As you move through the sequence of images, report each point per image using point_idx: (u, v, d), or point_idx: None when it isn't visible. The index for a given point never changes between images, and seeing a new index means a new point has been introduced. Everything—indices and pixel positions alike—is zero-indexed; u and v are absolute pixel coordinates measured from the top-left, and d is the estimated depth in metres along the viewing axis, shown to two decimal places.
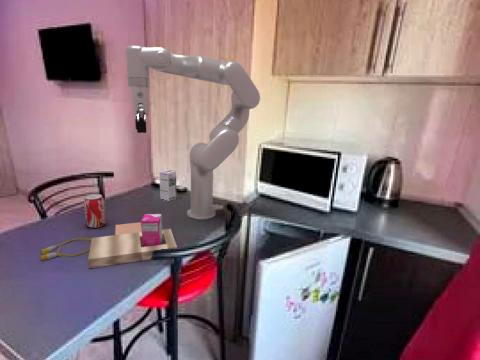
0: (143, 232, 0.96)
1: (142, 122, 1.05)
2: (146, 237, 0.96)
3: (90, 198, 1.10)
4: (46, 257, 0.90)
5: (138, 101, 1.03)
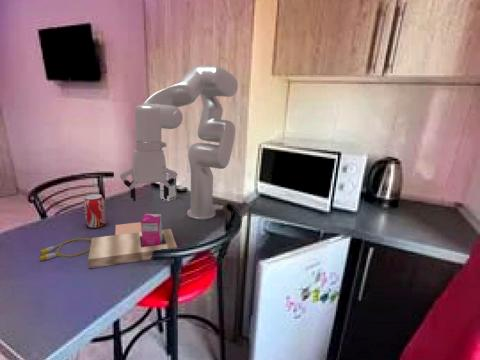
0: (143, 232, 0.96)
1: None
2: (146, 237, 0.96)
3: (90, 198, 1.10)
4: (45, 257, 0.90)
5: (165, 166, 0.93)
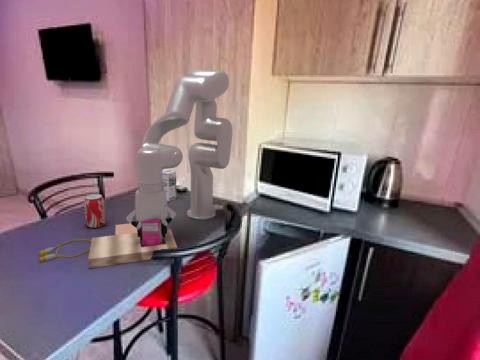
0: (143, 232, 0.96)
1: None
2: (146, 237, 0.96)
3: (90, 198, 1.10)
4: (45, 259, 0.90)
5: None
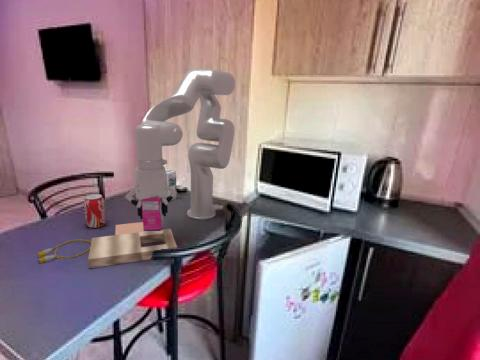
0: (143, 211, 0.94)
1: None
2: (146, 216, 0.95)
3: (90, 198, 1.10)
4: (44, 260, 0.89)
5: None
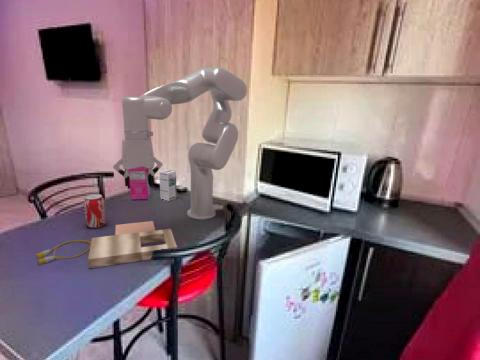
0: (131, 180, 0.99)
1: None
2: (133, 185, 0.99)
3: (90, 198, 1.10)
4: (44, 261, 0.89)
5: None
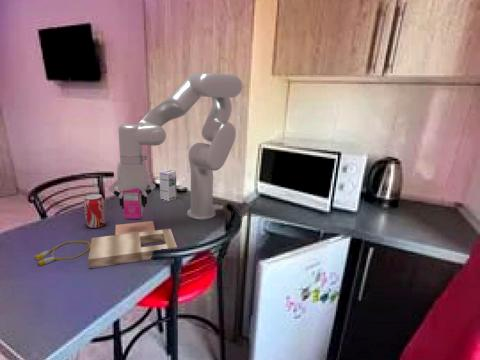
0: (124, 201, 1.05)
1: (146, 196, 1.10)
2: (127, 206, 1.06)
3: (90, 198, 1.10)
4: (44, 262, 0.88)
5: (146, 176, 1.07)
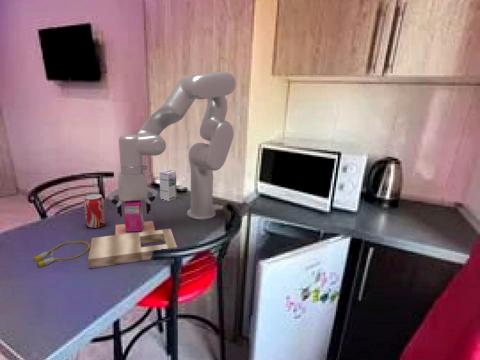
0: (125, 214, 1.07)
1: None
2: (128, 219, 1.07)
3: (90, 198, 1.10)
4: (44, 263, 0.87)
5: None
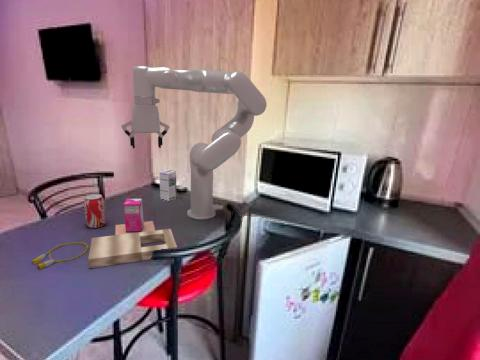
0: (125, 214, 1.07)
1: None
2: (128, 219, 1.07)
3: (90, 198, 1.10)
4: (44, 265, 0.86)
5: (159, 119, 1.12)
